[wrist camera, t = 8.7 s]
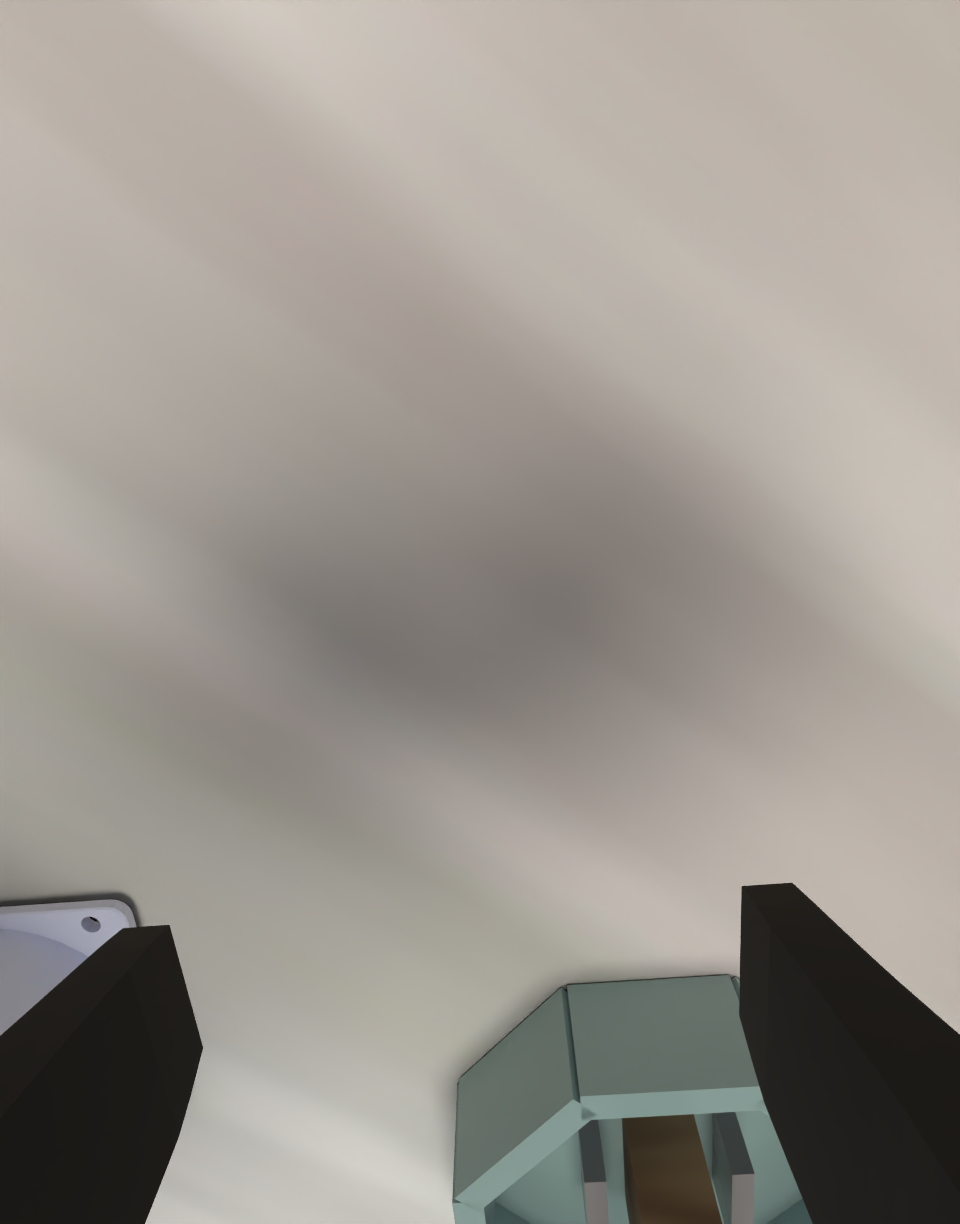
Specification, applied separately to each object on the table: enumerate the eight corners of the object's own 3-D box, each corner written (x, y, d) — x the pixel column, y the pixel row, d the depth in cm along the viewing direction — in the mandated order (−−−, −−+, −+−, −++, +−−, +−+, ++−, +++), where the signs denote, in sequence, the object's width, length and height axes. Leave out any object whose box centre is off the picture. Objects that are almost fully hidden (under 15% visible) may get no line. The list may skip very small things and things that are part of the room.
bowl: (481, 1262, 27) (481, 1394, 23) (445, 992, 23) (437, 1104, 19) (832, 1245, 26) (881, 1376, 23) (854, 966, 22) (918, 1077, 19)
